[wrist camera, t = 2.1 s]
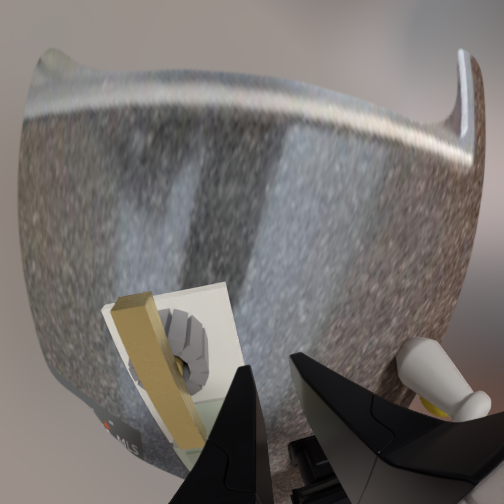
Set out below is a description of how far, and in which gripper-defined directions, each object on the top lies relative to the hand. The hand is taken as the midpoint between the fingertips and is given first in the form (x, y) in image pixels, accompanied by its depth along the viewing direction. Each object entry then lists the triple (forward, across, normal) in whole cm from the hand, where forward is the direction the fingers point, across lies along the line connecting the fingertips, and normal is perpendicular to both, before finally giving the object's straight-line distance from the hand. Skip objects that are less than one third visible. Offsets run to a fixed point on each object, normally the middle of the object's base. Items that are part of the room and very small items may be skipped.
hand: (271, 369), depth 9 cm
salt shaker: (+13, -17, +15) cm, 26 cm away
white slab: (+12, +6, +10) cm, 17 cm away
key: (+11, +6, +5) cm, 14 cm away
